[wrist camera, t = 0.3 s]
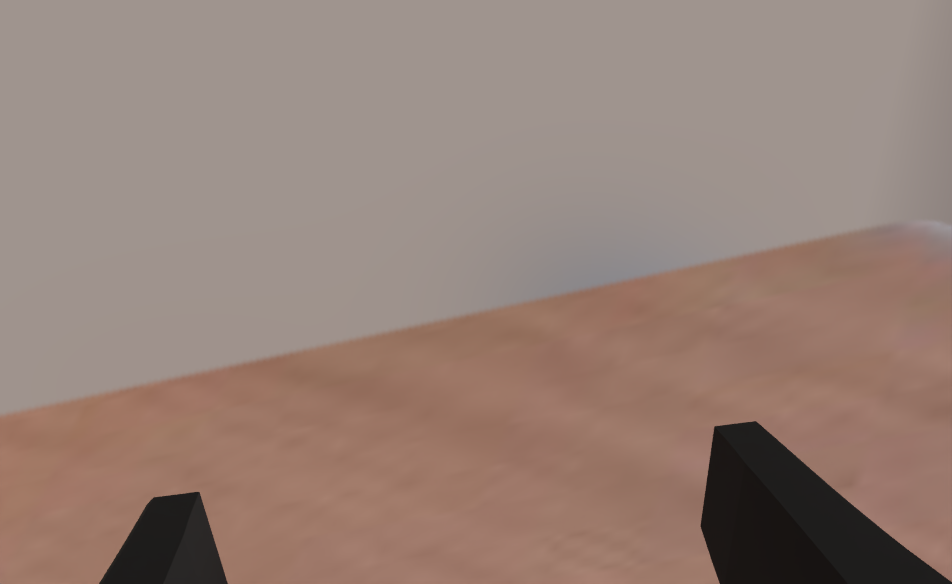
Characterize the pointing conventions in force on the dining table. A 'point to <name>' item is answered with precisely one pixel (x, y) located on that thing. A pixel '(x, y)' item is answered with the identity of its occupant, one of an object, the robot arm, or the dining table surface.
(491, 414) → the dining table surface
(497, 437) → the dining table surface
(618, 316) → the dining table surface
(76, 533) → the dining table surface
